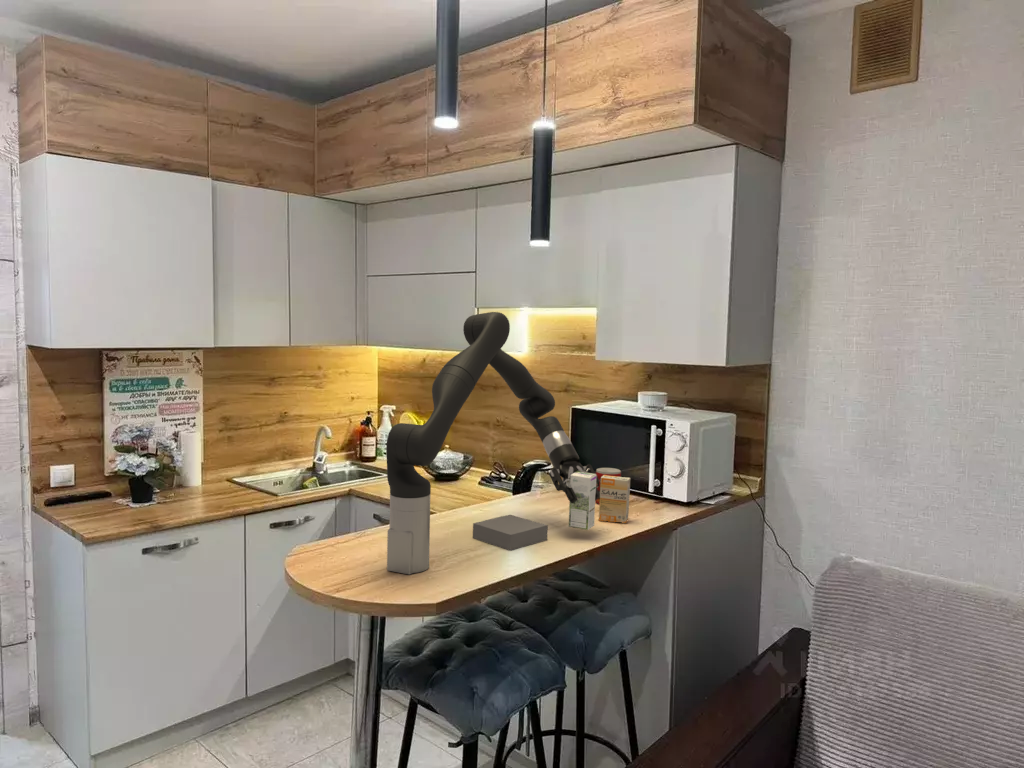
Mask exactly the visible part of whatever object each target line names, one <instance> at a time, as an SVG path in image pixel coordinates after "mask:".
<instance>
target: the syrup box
mask: <svg viewBox="0 0 1024 768" xmlns="http://www.w3.org/2000/svg"><path fill="white" fill-rule="evenodd" d="M570 485H571V487H570V488H572V489H573V491H574V493H575V495H576V497H577V501H576V502H575V503H571V502H570V501H569V506H568V507H569V508H568V527H569V528H574V529H580V530H586V531H587V530H588V531H589V530H590V529H591V528H593V527H594V526H595V520H596V519H595V518H596V517H595V513H596V511H595V510H596V501H595V495H596V474H592V473H584V472H575V473H573V474H572V475H571V480H570Z"/></svg>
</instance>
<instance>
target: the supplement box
mask: <svg viewBox="0 0 1024 768" xmlns="http://www.w3.org/2000/svg"><path fill="white" fill-rule="evenodd" d="M630 490H631V477H625V476H624V477H622V476H621V477H617V476H608V475H603V476H602V477H601V484H600V504H598V505H599V507H598V510H599V511H598V521H600V522H606V521H608V522H607V523H615V522H622V523H621V524H623V523H626V524H627V523H628V521H629V512H630V508H629V507H630V492H631V491H630ZM627 520H628V521H627Z"/></svg>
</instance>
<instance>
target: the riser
mask: <svg viewBox="0 0 1024 768" xmlns="http://www.w3.org/2000/svg"><path fill="white" fill-rule="evenodd" d="M548 527H549V525H548V524H545V523H542V522H537V521H535V520H531V519H528V518H524V517H520V516H516V515H513V514H507V515H503V516H499V517H494V518H490V519H486V520H485V519H484V520H481V521H477V522H473V523H472V539H475V540H477V541H481V542H483V543H486V544H490V545H492V546H496V547H499V548H502V549H505V550H508V551H512V550H513V551H514V550H517V549H520V548H523V547H527V546H532V545H535V544H537V543H541V542H545V541H548V533H549V532H548Z"/></svg>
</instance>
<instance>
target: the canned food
mask: <svg viewBox="0 0 1024 768" xmlns="http://www.w3.org/2000/svg"><path fill="white" fill-rule="evenodd" d="M595 473H596V475H597V477H598V479H599V482H598V483H597V484H596V488H597V490H598V492H599V493H600V484H601V477H602V476H603V475H608V476H617V477H622V471H621V470H620V469H619V468H614V467H599V468H596V470H595ZM597 503H598V504H597ZM595 504H597V505H599V504H600V497H599V498H598V499H597V500H595Z"/></svg>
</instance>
